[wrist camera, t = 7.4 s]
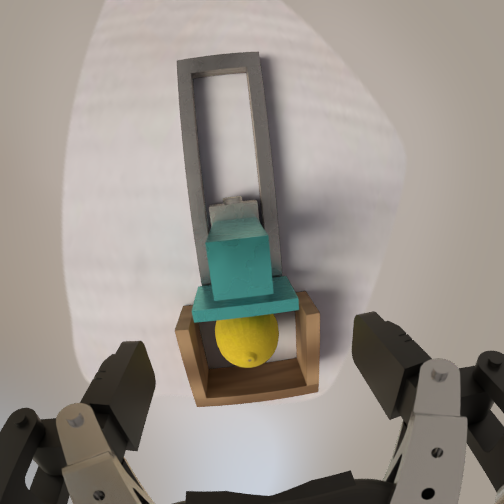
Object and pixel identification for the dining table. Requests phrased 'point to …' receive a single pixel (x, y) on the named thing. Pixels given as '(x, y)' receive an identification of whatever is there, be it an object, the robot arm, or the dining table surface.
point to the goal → (256, 378)
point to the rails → (252, 68)
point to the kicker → (240, 267)
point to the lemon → (247, 339)
